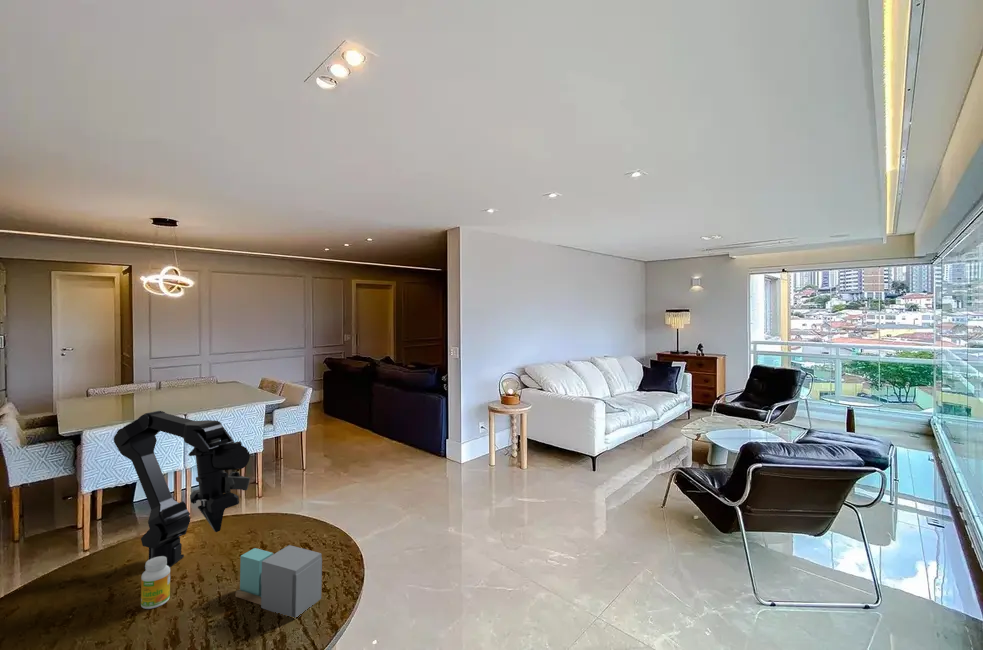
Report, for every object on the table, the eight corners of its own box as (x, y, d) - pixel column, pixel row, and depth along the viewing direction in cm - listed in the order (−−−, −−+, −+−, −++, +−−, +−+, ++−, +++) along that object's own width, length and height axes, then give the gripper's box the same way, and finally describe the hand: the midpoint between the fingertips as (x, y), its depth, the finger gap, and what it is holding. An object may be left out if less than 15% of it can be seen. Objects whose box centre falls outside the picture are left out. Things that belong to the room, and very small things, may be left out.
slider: (239, 592, 106) (240, 555, 106) (254, 583, 110) (254, 547, 110) (265, 600, 103) (265, 562, 103) (278, 591, 107) (279, 554, 107)
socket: (261, 607, 101) (261, 561, 101) (288, 588, 109) (289, 544, 109) (295, 619, 98) (296, 571, 98) (321, 598, 105) (322, 553, 105)
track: (235, 596, 105) (235, 591, 105) (258, 581, 111) (258, 577, 111) (263, 605, 102) (264, 600, 102) (285, 590, 108) (285, 585, 108)
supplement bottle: (138, 612, 99) (138, 569, 99) (143, 598, 104) (144, 557, 103) (167, 605, 101) (168, 563, 101) (171, 592, 106) (172, 552, 106)
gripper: (257, 464, 114) (264, 525, 113) (232, 459, 126) (238, 513, 126) (208, 478, 106) (215, 544, 105) (186, 471, 118) (193, 529, 117)
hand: (217, 531), depth 114 cm, fingers closed
